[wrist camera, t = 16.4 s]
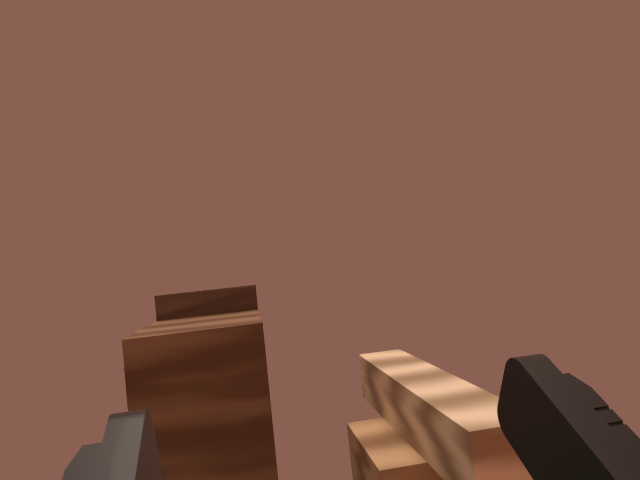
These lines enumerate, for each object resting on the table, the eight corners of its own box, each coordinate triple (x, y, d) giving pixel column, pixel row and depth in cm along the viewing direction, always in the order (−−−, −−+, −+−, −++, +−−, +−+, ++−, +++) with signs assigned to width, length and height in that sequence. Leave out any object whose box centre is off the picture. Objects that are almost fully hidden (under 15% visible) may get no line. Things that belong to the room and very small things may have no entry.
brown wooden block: (555, 501, 25) (545, 419, 25) (479, 516, 24) (469, 431, 25) (404, 391, 49) (399, 349, 49) (363, 397, 48) (358, 354, 48)
